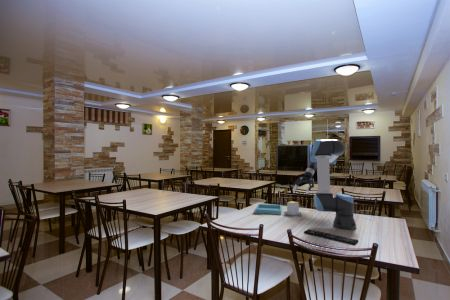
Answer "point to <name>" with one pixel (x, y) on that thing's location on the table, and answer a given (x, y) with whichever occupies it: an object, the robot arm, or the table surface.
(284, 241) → the table surface
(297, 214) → the dock mat
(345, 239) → the black keyboard
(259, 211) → the tray
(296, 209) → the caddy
